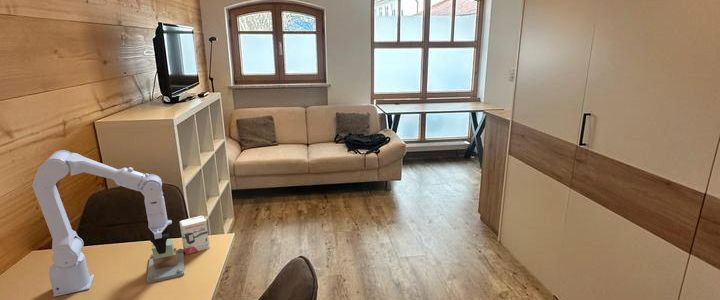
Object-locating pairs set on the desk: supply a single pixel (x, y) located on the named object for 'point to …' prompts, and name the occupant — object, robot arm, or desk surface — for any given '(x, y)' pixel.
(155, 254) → the sage brick
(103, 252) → the desk surface
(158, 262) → the walnut brick
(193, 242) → the ink box
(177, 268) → the baseplate
